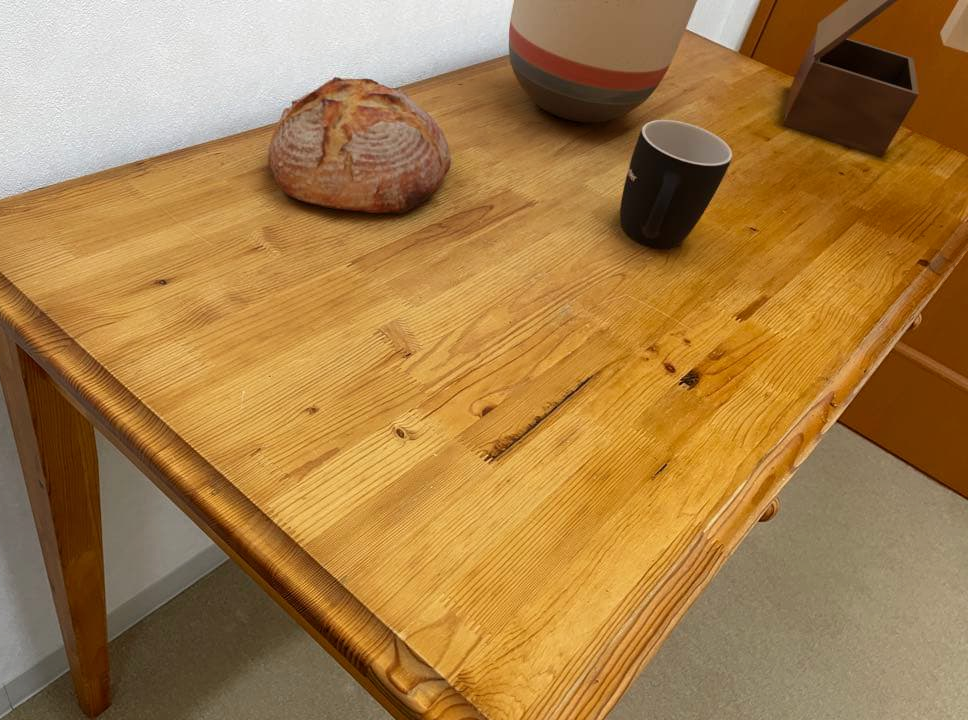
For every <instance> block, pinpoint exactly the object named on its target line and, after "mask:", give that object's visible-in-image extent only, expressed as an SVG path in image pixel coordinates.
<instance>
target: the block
mask: <svg viewBox="0 0 968 720" xmlns="http://www.w3.org/2000/svg"><path fill="white" fill-rule="evenodd" d="M939 34H940V38H941V41H942V44H943V45H942V46H944V47H948V48H951V49H954V50H957V51H961V52H965V53H968V0H958V1H957V2H956V4H955V6H954V8H953V9H952V11H951V13H950V14H949V16H948V18H947V19H946V21H945V23H944V24H943V27H942V29H941V30H940V31H939Z"/></svg>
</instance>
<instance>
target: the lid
mask: <svg viewBox="0 0 968 720" xmlns="http://www.w3.org/2000/svg"><path fill="white" fill-rule="evenodd" d="M898 1H899V0H847V1H845V2H844V3H842V5H839V7H837V8H836V9H835V10H834V11H832V12H831V13H830V14H829V15H827V16H826V17H825V18H824V19H822V20H821V21H820V22H818V23H817V29H816V32H817V35H816V42H815V50H814V57H815V58H816V60H818V59H820V58H821V57H822V56H824V55H825V54H826V53H828V52H829V51H830V50H832V49H833V48H834V47H836V46H837V45H839V44H840V43H841V42H843V41H844V40H845V39H847V38H848V39H849V37H851V36H852V35H853V34H855V33H856V32H858V31H859V30H860V29H862V28H863V27H864V26H866V25H867V24H869V23H870V22H871V21H873V20H874V19H875V18H876V17H878V16H880V15H881V14H882V13H884V11H886V10H887V9H889V8H890V7H891V6H892V5H894V4H895V3H897V2H898Z"/></svg>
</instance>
